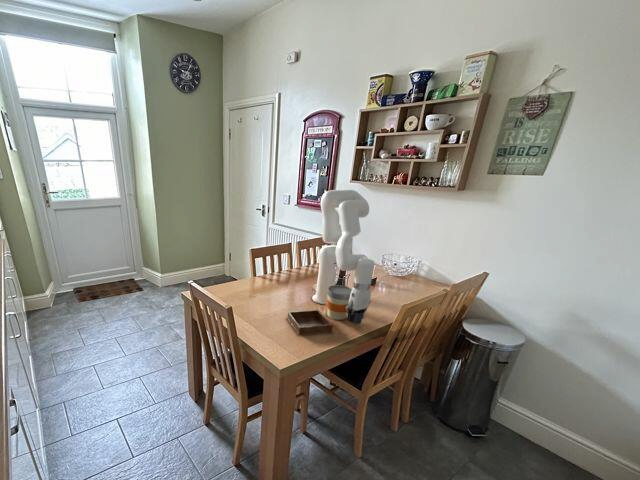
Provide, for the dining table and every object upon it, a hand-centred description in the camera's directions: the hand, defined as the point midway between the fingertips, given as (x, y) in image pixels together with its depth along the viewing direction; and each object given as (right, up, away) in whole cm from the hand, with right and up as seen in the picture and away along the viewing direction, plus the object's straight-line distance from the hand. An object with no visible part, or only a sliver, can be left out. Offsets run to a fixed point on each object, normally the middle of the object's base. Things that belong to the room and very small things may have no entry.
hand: (355, 319), depth 158 cm
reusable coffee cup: (-6, +1, +11) cm, 13 cm away
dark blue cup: (0, -1, +1) cm, 1 cm away
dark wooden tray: (-22, -3, +1) cm, 23 cm away
